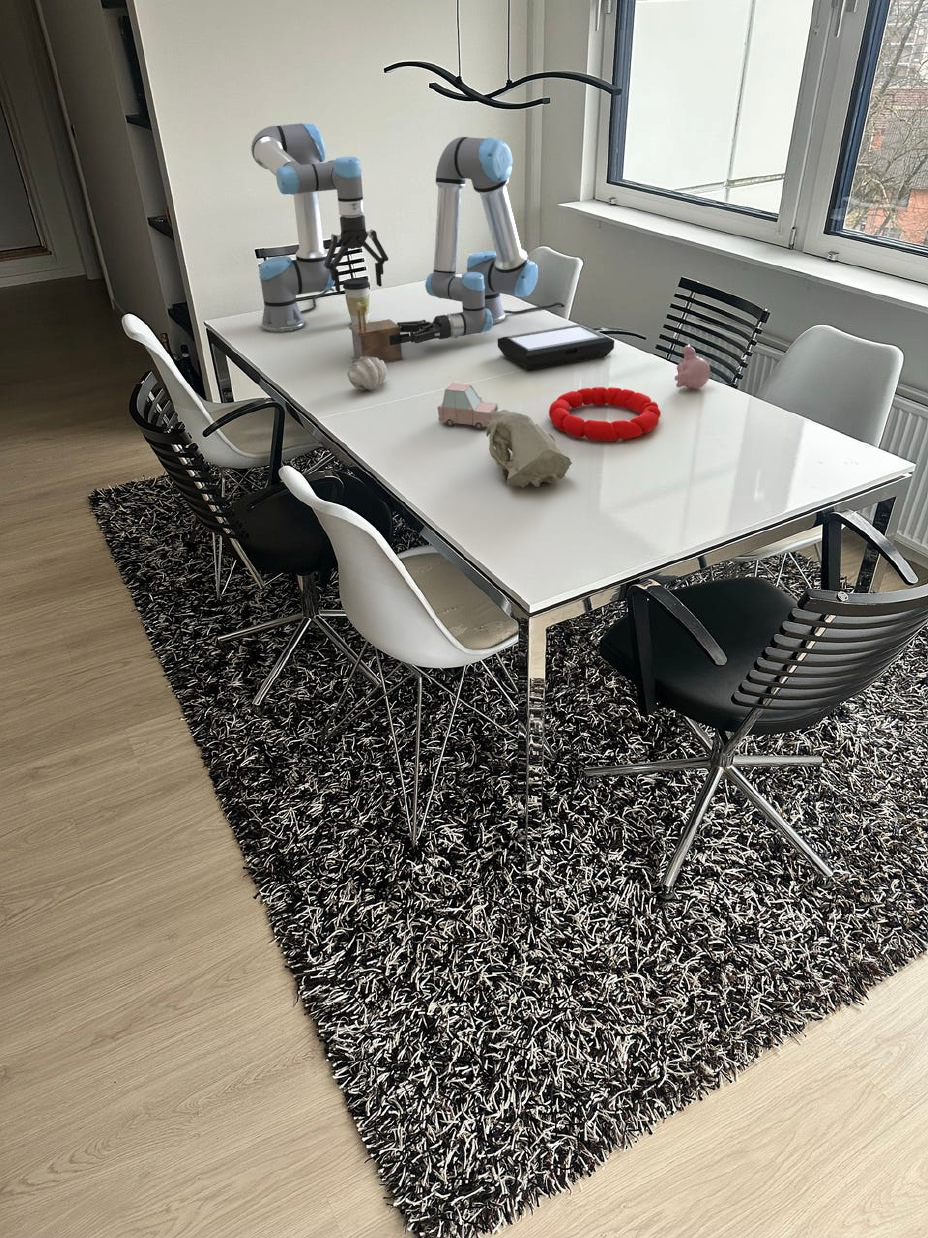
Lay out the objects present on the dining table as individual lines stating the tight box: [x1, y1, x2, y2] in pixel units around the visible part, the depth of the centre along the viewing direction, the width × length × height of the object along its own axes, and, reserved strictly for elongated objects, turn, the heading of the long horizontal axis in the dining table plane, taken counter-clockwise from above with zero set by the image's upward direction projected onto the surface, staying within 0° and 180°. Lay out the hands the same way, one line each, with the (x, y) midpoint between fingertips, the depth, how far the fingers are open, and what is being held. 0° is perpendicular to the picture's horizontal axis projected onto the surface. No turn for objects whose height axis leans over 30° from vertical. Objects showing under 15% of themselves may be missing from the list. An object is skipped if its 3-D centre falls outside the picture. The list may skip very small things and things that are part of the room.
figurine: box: [674, 344, 711, 390], centre depth 259 cm, size 9×11×12 cm
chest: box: [351, 330, 403, 363], centre depth 291 cm, size 13×10×10 cm
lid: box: [348, 302, 400, 337], centre depth 286 cm, size 14×10×9 cm
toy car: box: [437, 382, 499, 431], centre depth 243 cm, size 9×15×10 cm, turn 70°
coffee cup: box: [342, 277, 371, 325], centre depth 323 cm, size 10×10×15 cm
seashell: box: [347, 356, 388, 391], centre depth 267 cm, size 10×15×10 cm
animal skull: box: [485, 409, 573, 489], centre depth 216 cm, size 17×25×20 cm
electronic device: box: [497, 323, 615, 371], centre depth 288 cm, size 32×6×20 cm
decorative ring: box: [548, 386, 661, 442], centre depth 242 cm, size 7×30×30 cm
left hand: (358, 288), depth 279 cm, fingers open, 13 cm apart
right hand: (384, 336), depth 291 cm, fingers closed on chest, 10 cm apart
